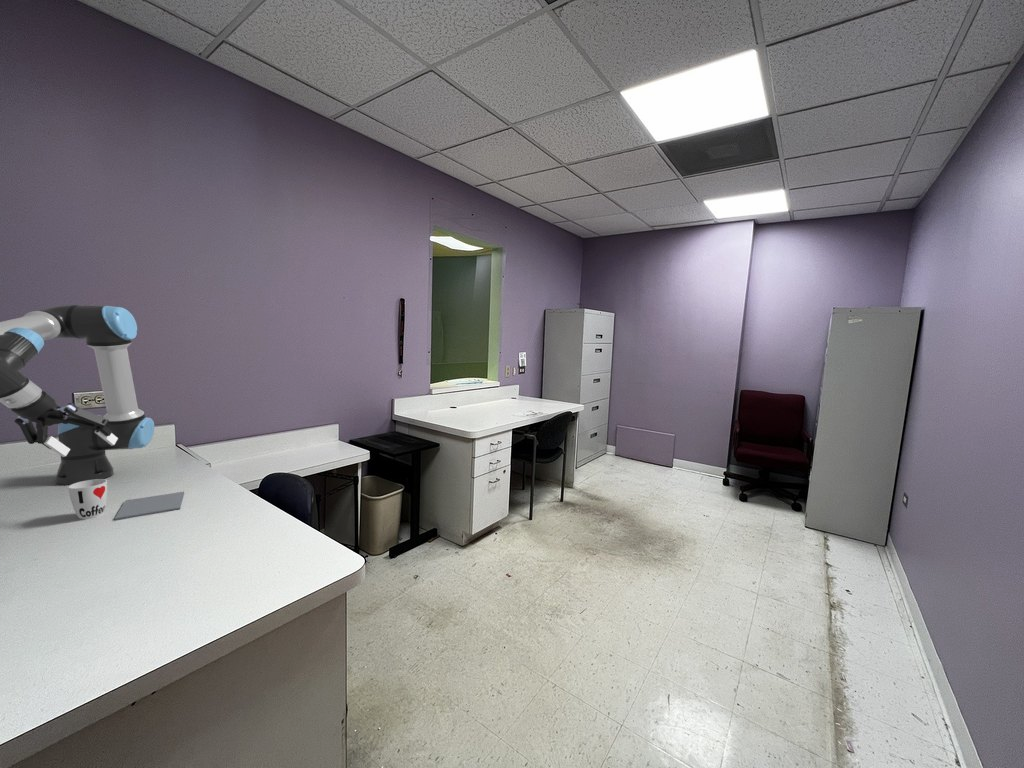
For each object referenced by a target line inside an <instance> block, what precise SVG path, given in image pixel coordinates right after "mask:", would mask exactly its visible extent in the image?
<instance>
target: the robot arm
mask: <svg viewBox="0 0 1024 768" xmlns="http://www.w3.org/2000/svg"><path fill="white" fill-rule="evenodd" d="M137 332H138V325H137V321H136V319H135V317H134V315H133V314H132V313H131V312H130V311H129V310H127V309H126V308H124V307H122V306H111V305H89V304H88V305H86V304H85V305H82V304H81V305H80V304H65V305H57V306H51V307H46V308H42V309H37V310H33V311H28V312H26V313H25V314H24V315H23V316H21V317H18V318H17V317H16V318H12V319H8V320H4V321H0V403H1V404H2V405H4V406H5V407H7V408H8V409H11V411H12V412H13V413H14V414H16V415H17V417H16V418H15V419H14V423H16V424H17V425H18V426H19V427H20V429H21V432H22V434H23V436H24V437H25V439H26V441H27V443H28V444H30V445H34V443H37V444H41V445H43V446H44V447H46V448H47V449H49V450H52V451H54V452H55V453H56V454H58V455H59V456H60V463H59V467H58V469H57V472H56V474H55V484H57V485H63V486H65V485H66V486H70V485H72V484H74V483H78V482H82V481H87V480H94V479H107V478H108V479H109V478H110V477H112V476H113V475H114V473H115V472H114V467H113V465H112V463H111V462H110V460H109V459H108V457H107V454H106V451H112V450H113V451H115V450H135V449H142V448H145V447H147V446H148V445H149V444H150V443H151V441H152V439H153V437H154V433H155V422H154V420H153V419H152V418H151V417H146V415H145V414H146V413H145V412H144V411H143V410H142V409H140V408H139V407H138V400H137V395H136V389H135V384H134V380H133V379H134V378H133V373H132V367H131V364H130V362H131V361H130V358H129V351H128V348H129V346H130V345H132V340H133V339H135V338H136V337H137V334H138V333H137ZM53 339H78V340H80V339H81V340H82V339H83V340H85V342H86V346H87V347H89V348H91V349H93V351H94V356H95V361H96V365H97V371H98V375H99V379H100V384H101V390H102V393H103V398H104V403H105V404H104V405H105V409H106V414H104V415H101V414H100V415H99V414H95V413H94V412H90V411H88V410H85V409H83V408H80V407H79V406H77V405H76V404H75V403H72V402H68V404H67V405H64V406H60V405H58V404H57V403H56V400H55V398H54V397H52V396H51V395H50V394H48V393H47V392H45V391H43V390H42V388H41V387H39V386H38V385H37V384H36V383H34V382H33V381H31V380H30V379H29V378H28V377H27V376H25V375H24V374H23V373H22V372H21V371H22V370H23V369H24V368H25V367H26V366H27V365H28V364H29V363H30V362H31V361H32V360H33V359H34V358H35V357H36V356H37V355H39V353H40V351H41V350H42V349H43V347H44V345H45V341H49V340H53ZM66 416H67V417H66ZM33 423H35V426H34V424H33ZM53 425H57V437H58V439H57V438H55V436H54V437H53V436H52V435H51V436H49V434H48V432H49V431H48V430H49V427H50V426H53Z"/></svg>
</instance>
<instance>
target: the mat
mask: <svg viewBox="0 0 1024 768" xmlns="http://www.w3.org/2000/svg"><path fill="white" fill-rule="evenodd" d="M184 496H185V491H179V492H172V493H167V494H165V493H164V494H159V495H151V496H145V497H140V498H139V497H138V498H133V499H132V498H131V499H127V500H124V502H123V504H122V505H121V507H120V508H119V510H118V512H117V514H116V515H115V517H114V521H120V520H125V519H133V518H137V517H143V516H151V515H155V514H160V513H167V512H172V511H173V512H174V511H178V510H179V511H180V510H181V508H182V503H183V498H184Z"/></svg>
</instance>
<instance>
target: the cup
mask: <svg viewBox="0 0 1024 768" xmlns="http://www.w3.org/2000/svg"><path fill="white" fill-rule="evenodd" d="M67 486H68V488H67V489H68V494H69V499H70V502H71V505H72V508H73V510H74V512H75V514H76V515H77V517H78V518H79V520H90V519H94V518H97V517H101V516H102V515H103V514H104V511H105V508H106V504H107V497H108V480H107V478H105V479H94V480H87V481H82V482H78V483H74V484H72V485H67Z"/></svg>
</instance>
